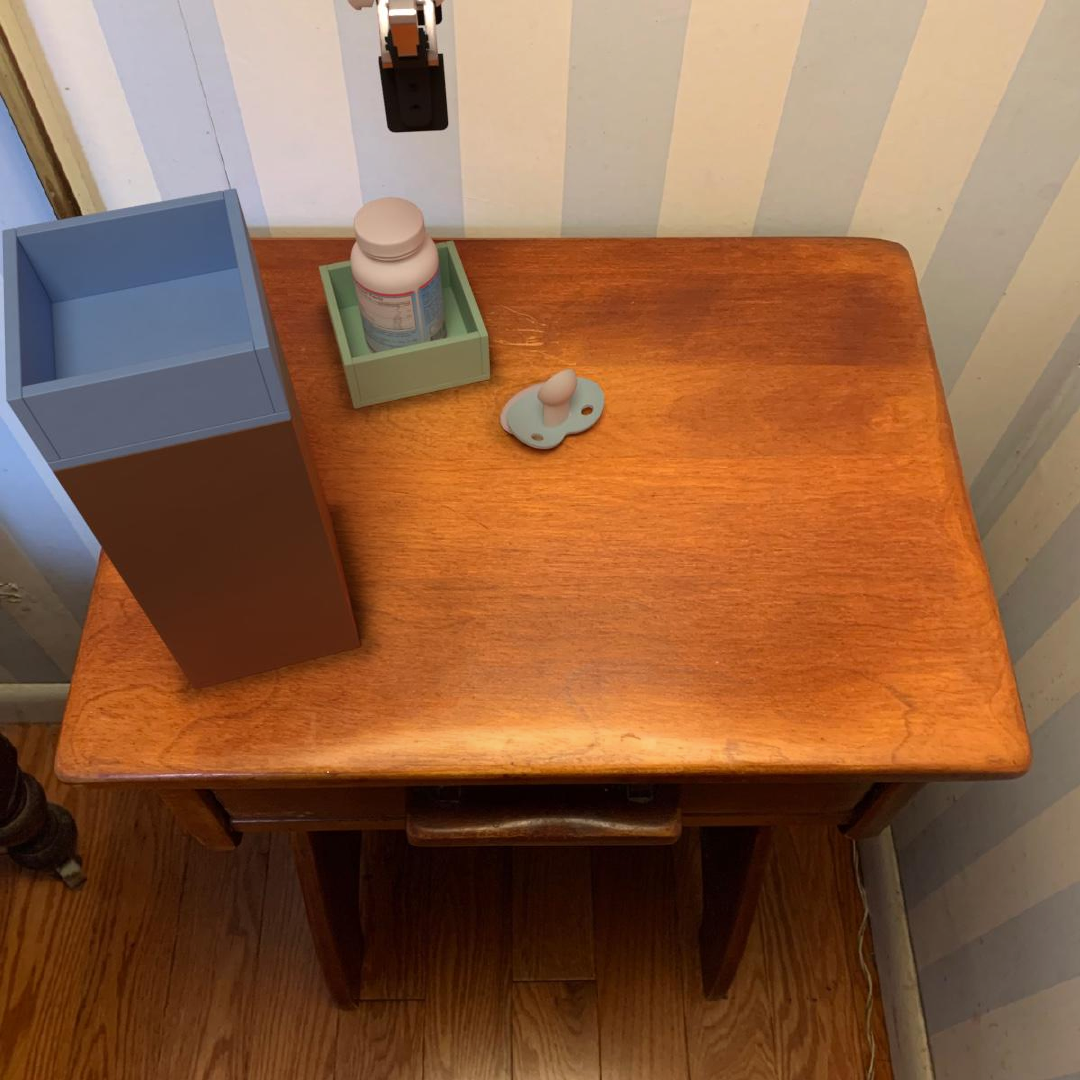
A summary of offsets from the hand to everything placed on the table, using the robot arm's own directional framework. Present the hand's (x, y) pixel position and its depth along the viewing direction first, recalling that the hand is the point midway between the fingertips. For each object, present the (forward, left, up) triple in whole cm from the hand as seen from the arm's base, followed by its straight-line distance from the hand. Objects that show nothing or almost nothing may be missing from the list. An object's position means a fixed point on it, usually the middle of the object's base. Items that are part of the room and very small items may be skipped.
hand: (416, 73), depth 57 cm
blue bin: (-16, -16, -23) cm, 33 cm away
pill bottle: (-2, +3, -23) cm, 23 cm away
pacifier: (+6, -7, -24) cm, 25 cm away
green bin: (-2, +3, -23) cm, 24 cm away
